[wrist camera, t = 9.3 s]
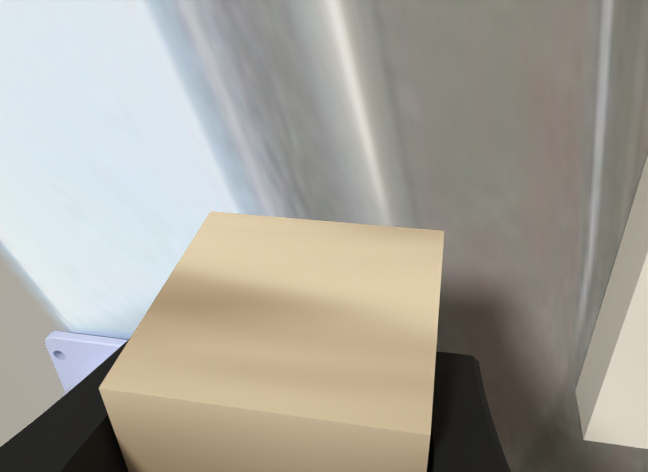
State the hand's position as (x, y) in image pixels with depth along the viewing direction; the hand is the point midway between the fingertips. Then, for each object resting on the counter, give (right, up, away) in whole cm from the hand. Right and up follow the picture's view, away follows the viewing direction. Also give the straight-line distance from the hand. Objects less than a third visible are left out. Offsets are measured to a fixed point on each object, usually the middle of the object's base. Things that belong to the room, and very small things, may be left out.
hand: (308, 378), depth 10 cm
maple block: (0, +1, +1) cm, 2 cm away
